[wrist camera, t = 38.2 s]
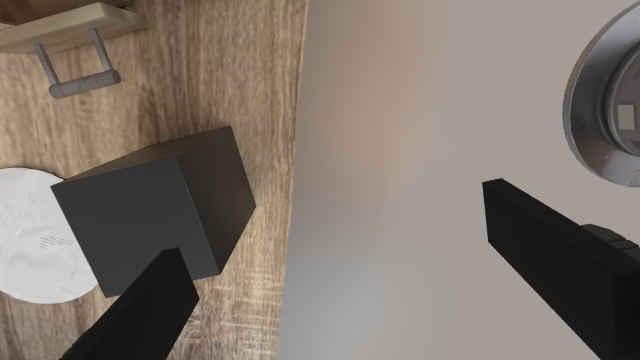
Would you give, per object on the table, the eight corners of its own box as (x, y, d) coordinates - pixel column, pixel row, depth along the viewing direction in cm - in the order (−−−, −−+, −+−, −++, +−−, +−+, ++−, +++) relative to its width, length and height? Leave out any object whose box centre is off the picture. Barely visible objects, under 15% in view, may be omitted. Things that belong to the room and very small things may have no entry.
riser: (230, 125, 42) (175, 156, 27) (256, 206, 45) (220, 275, 30) (147, 145, 43) (48, 186, 28) (178, 223, 46) (105, 298, 31)
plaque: (18, 315, 50) (9, 322, 49) (-67, 194, 45) (-79, 198, 44) (141, 273, 49) (135, 279, 48) (68, 144, 44) (60, 146, 43)
